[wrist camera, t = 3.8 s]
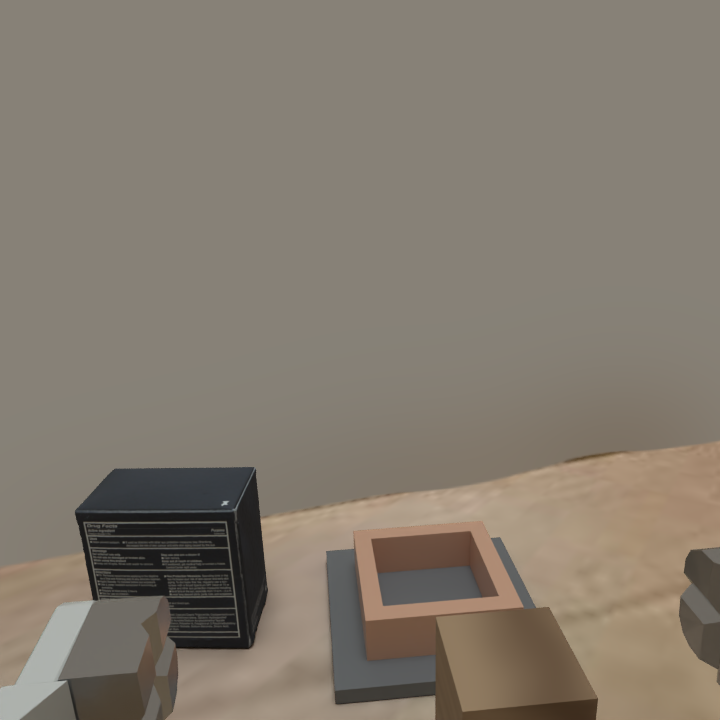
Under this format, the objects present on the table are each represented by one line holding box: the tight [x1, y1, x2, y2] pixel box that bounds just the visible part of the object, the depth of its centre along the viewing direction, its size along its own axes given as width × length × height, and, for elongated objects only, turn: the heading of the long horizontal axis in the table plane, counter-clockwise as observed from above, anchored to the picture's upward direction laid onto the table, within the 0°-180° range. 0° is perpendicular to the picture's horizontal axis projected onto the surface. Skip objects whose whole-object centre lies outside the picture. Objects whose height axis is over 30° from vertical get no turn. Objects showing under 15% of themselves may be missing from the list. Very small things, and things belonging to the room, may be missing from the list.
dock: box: [326, 521, 536, 704], centre depth 45 cm, size 14×14×4 cm
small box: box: [75, 467, 268, 648], centre depth 45 cm, size 11×6×10 cm, turn 87°
